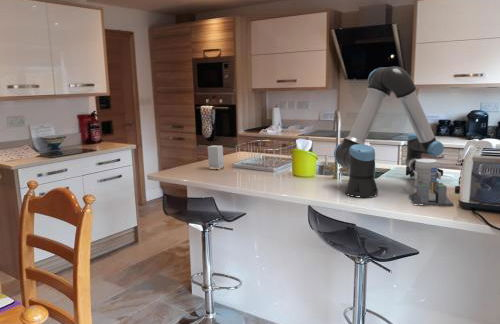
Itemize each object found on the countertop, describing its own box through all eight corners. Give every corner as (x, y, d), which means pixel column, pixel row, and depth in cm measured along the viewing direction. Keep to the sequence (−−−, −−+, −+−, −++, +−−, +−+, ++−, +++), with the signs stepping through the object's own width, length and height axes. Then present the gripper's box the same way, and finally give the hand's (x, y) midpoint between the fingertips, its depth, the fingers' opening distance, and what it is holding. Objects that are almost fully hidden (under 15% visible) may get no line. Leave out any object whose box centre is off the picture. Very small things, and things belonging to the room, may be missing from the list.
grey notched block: (408, 197, 186) (409, 179, 185) (445, 198, 183) (446, 180, 182) (413, 205, 175) (414, 186, 173) (453, 206, 172) (454, 186, 170)
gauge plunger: (416, 194, 186) (417, 177, 184) (437, 194, 184) (438, 177, 183) (421, 200, 176) (421, 182, 175) (443, 201, 174) (444, 183, 173)
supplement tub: (435, 194, 183) (436, 162, 180) (412, 192, 188) (414, 161, 185) (437, 189, 191) (438, 159, 189) (415, 187, 196) (416, 157, 193)
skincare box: (224, 168, 267) (223, 145, 264) (218, 170, 261) (217, 147, 258) (214, 167, 271) (213, 144, 268) (208, 169, 266) (207, 146, 263)
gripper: (440, 173, 204) (453, 184, 182) (395, 173, 208) (402, 184, 187) (441, 159, 202) (454, 168, 181) (395, 159, 207) (403, 168, 185)
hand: (428, 176), depth 184 cm, fingers closed on supplement tub, 9 cm apart
